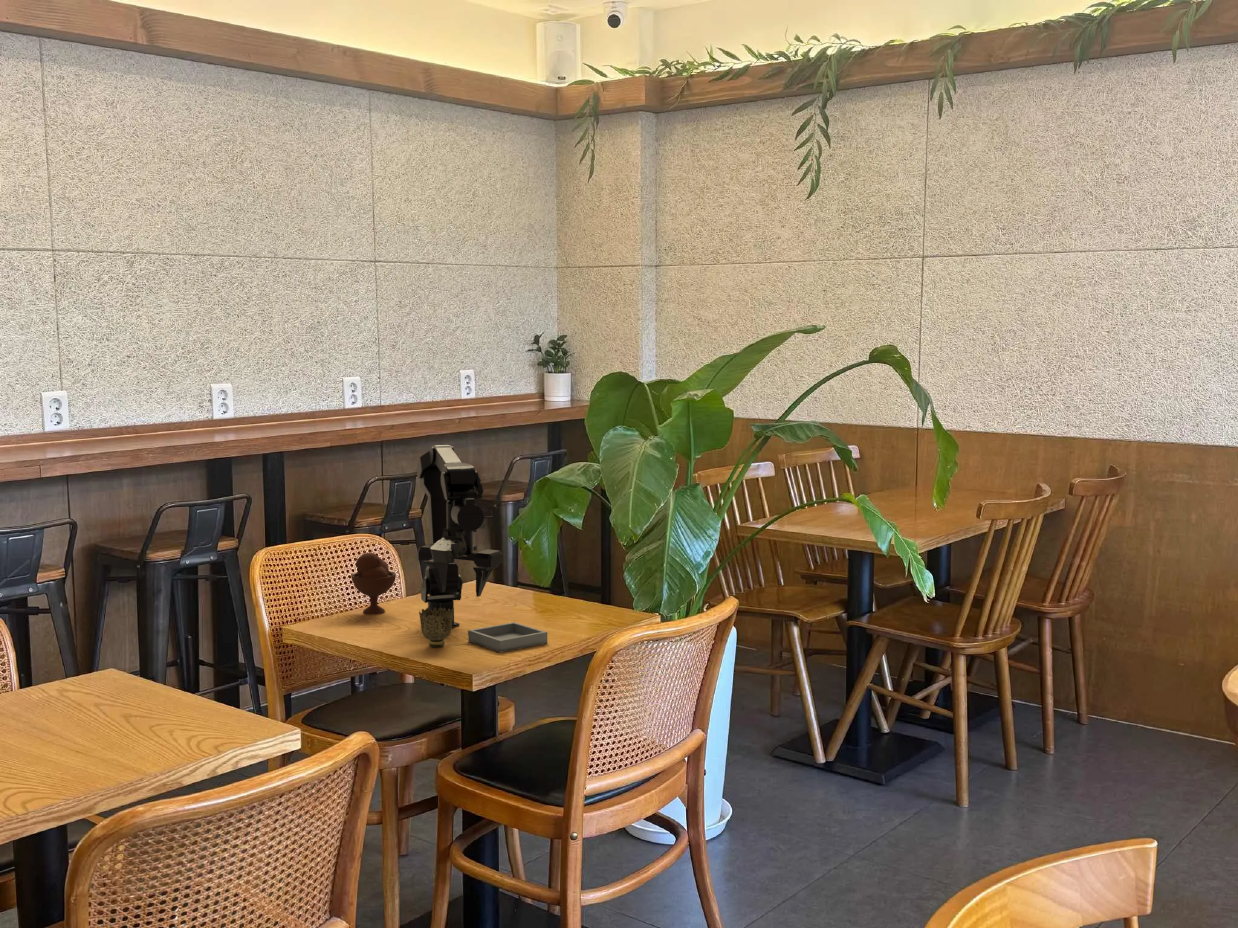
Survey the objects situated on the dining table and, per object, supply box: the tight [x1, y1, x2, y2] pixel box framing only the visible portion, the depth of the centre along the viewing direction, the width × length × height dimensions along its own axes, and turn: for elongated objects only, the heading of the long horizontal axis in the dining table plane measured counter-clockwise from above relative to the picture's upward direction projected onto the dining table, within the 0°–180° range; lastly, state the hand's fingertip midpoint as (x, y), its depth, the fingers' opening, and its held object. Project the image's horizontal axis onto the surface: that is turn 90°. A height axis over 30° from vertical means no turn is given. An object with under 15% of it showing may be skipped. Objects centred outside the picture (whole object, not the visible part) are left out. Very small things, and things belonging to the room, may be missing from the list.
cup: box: [418, 607, 453, 649], centre depth 269 cm, size 8×7×8 cm
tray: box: [467, 621, 548, 653], centre depth 273 cm, size 13×13×2 cm
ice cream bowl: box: [350, 552, 397, 616], centre depth 303 cm, size 11×11×15 cm
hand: (460, 594), depth 268 cm, fingers open, 9 cm apart
